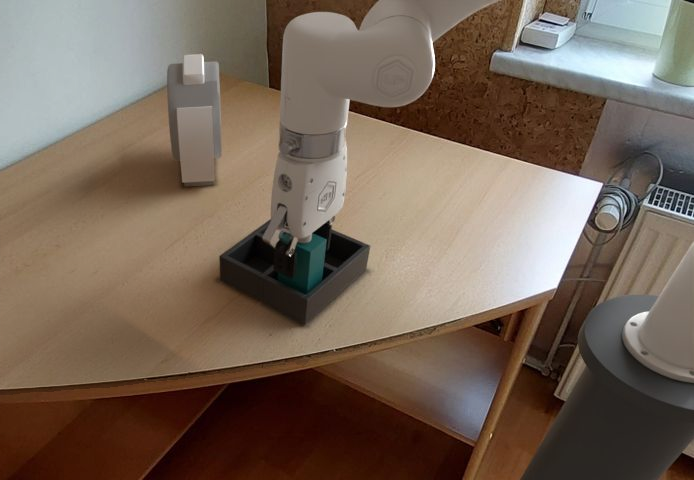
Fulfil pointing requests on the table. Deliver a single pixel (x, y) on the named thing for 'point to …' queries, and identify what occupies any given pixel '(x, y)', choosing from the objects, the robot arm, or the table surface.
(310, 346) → the table surface
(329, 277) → the tray
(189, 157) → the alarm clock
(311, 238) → the detergent bottle
